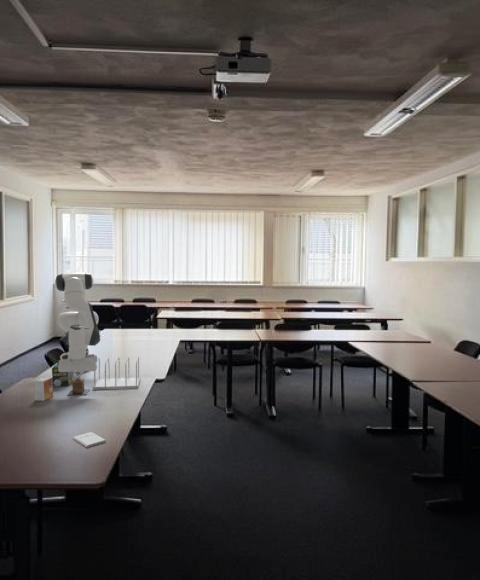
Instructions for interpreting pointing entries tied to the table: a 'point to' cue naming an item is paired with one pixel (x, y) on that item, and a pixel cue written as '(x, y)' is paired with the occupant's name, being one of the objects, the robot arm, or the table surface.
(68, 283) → the robot arm
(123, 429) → the table surface
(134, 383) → the file sorter
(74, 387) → the cardboard cube
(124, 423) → the table surface
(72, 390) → the grey square peg stand
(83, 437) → the external hard drive
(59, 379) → the chalk box
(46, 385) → the small box
